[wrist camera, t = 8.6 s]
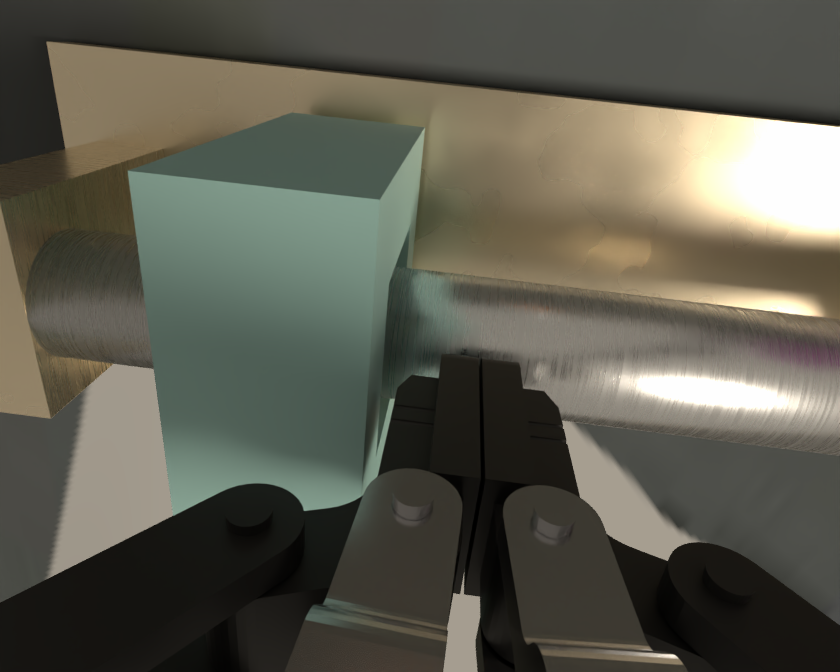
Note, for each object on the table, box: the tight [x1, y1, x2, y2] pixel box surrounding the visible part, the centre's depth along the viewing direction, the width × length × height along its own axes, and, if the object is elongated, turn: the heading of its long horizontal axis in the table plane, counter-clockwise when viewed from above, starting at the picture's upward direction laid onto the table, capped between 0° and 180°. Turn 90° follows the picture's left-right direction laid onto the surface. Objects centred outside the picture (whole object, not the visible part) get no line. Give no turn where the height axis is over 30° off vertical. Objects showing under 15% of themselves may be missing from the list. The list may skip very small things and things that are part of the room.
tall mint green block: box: [128, 113, 425, 516], centre depth 13 cm, size 4×8×8 cm, turn 175°
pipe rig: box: [0, 42, 840, 456], centre depth 15 cm, size 30×10×8 cm, turn 85°
